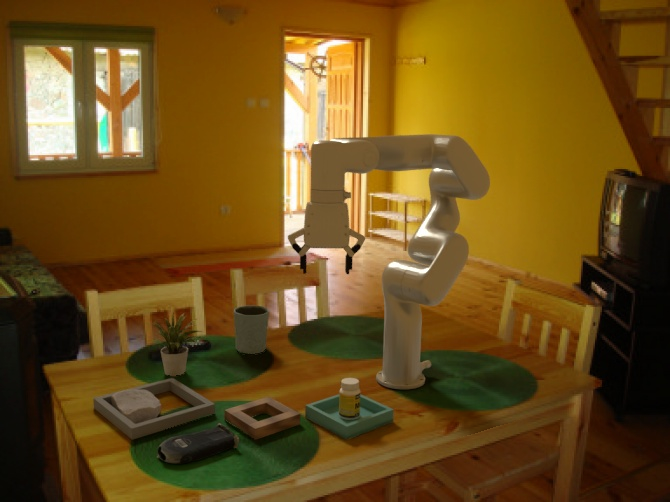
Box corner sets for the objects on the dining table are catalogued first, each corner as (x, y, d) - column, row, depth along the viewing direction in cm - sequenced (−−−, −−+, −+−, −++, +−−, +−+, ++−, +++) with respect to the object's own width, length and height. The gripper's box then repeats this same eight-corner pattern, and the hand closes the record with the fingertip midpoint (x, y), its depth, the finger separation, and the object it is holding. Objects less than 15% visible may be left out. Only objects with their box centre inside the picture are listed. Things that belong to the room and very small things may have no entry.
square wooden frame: (268, 406, 163) (268, 396, 163) (300, 424, 154) (300, 413, 154) (224, 420, 156) (224, 409, 155) (255, 439, 147) (255, 428, 146)
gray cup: (239, 343, 207) (239, 304, 205) (272, 345, 206) (272, 306, 203) (229, 354, 197) (229, 313, 195) (264, 357, 196) (264, 315, 194)
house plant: (159, 389, 172) (157, 325, 169) (134, 372, 182) (131, 312, 179) (209, 375, 181) (208, 315, 178) (183, 360, 192) (181, 303, 188)
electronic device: (215, 439, 150) (149, 449, 141) (220, 416, 149) (154, 424, 140) (236, 462, 143) (168, 474, 134) (241, 438, 142) (173, 448, 133)
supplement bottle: (358, 421, 154) (358, 385, 153) (337, 419, 155) (337, 384, 154) (361, 412, 159) (362, 377, 157) (340, 410, 160) (341, 376, 158)
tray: (351, 401, 167) (351, 390, 166) (393, 421, 157) (393, 409, 156) (305, 417, 158) (305, 405, 157) (346, 440, 148) (346, 426, 147)
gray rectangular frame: (172, 387, 173) (172, 377, 173) (215, 414, 159) (214, 404, 158) (93, 408, 160) (93, 397, 160) (132, 439, 146) (131, 428, 145)
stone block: (148, 406, 167) (106, 407, 161) (152, 387, 166) (110, 387, 161) (165, 427, 157) (120, 429, 151) (168, 407, 156) (124, 408, 151)
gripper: (364, 195, 158) (362, 269, 162) (288, 194, 157) (287, 268, 161) (368, 199, 151) (365, 276, 154) (287, 198, 150) (287, 276, 153)
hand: (325, 272), depth 157 cm, fingers open, 9 cm apart
